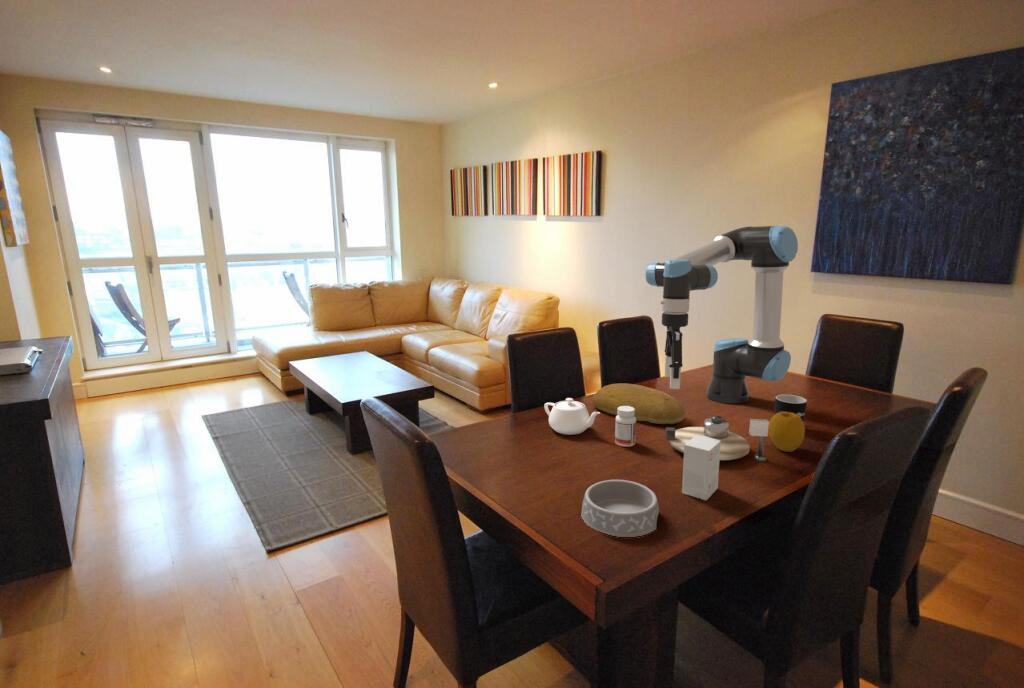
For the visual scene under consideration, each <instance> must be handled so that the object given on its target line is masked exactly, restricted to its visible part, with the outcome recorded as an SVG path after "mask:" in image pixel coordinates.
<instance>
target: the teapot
mask: <svg viewBox="0 0 1024 688" xmlns="http://www.w3.org/2000/svg"><path fill="white" fill-rule="evenodd" d="M549 406H550V407H551V406H552V409H551V411H550V409H549ZM543 407H544V411H545V413H546V414H547V416H548V425H549V426H550V428H552V429H553V430H554V431H555V432H556V433H559V434H561V435H570V436H571V435H573V436H574V435H579V434H581V433H583V432H585V431H586V430H587V429H588V428H590V427H592V426H593V424H594V422H595V419H596V416H597V415H599V414H601V412H599V411H593V412H592V413H591V415H590V413H589V411H588V409H587V406H586V405H585V404H584V403H582V402H580V401H577V400H574V398H572V397H566V398H565V400H560V401H558V402H555V403H554V402H546V403H544V405H543Z"/></svg>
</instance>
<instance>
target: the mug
mask: <svg viewBox="0 0 1024 688" xmlns="http://www.w3.org/2000/svg"><path fill="white" fill-rule="evenodd" d="M807 404H808V401H807V399H806V398H804V397H803V396H799V395H793V394H778V395H776V396H775V399H774V415H775V414H777V413H779V412H783V411H784V412H790V413H794V414H796V415H798V416H799V417H800V418H801V419H802V421H803V422H804V419H805V416H806V410H807Z"/></svg>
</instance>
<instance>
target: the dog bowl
mask: <svg viewBox="0 0 1024 688" xmlns="http://www.w3.org/2000/svg"><path fill="white" fill-rule="evenodd" d="M583 496H584V497H583V499H582V505H581V513H580V514H581V515H580V517H582V518H581V520H582V519H583V520H584V521H583V520H582V521H583V522H584V523H586V526H588V527H589V526H590V527H591V529H592V528H593V529H595V530H597V531H600V532H602V533H605V534H608V535H612V536H617V537H616V538H618V537H636V536H642V535H645V534H648V533H650V532H652V531H654V530H656V531H657V523H658V516H659V514H660V507H659V502H658V499H657V495H656V494H655V492H654V491H652V490H651V489H650V488H648V486H646V485H644V484H641V483H638V482H635V481H631V480H626V479H608V480H607V479H606V480H602V481H598V482H596V483H594V484H592V485H590V486H589V487H588V488H587V489H586V491H585V493H584V495H583ZM590 527H589V528H590ZM593 529H592V530H593ZM595 530H594V531H595ZM597 531H596V532H597ZM654 532H655V531H654ZM602 533H601V534H602ZM608 535H607V536H608ZM612 536H611V537H612ZM642 537H643V536H642Z"/></svg>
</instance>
